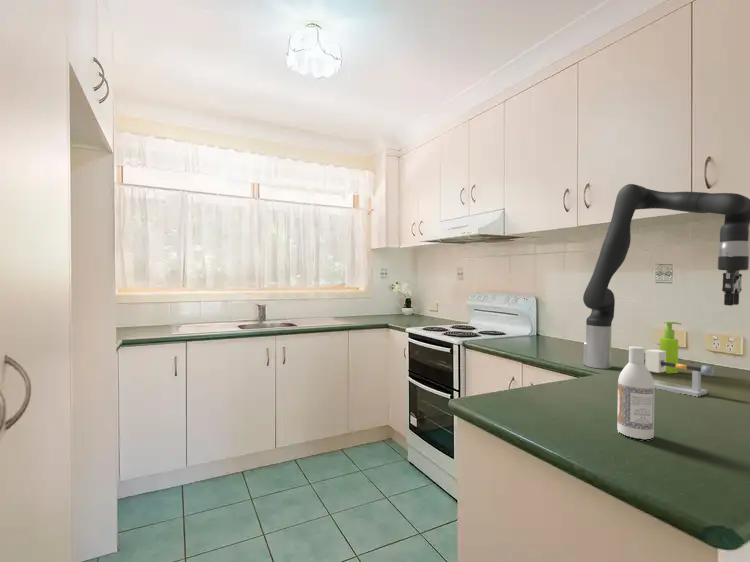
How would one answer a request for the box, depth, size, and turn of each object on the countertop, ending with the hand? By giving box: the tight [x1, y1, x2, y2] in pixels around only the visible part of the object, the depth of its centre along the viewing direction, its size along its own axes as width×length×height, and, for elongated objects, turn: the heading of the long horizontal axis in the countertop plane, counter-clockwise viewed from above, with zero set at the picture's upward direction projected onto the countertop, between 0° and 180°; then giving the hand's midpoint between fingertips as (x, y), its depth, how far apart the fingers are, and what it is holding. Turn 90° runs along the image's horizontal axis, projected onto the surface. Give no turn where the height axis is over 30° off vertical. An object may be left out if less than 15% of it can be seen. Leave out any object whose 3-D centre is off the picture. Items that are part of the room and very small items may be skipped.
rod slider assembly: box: [644, 358, 715, 398], centre depth 133 cm, size 22×8×10 cm, turn 33°
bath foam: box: [616, 345, 656, 440], centre depth 91 cm, size 7×7×20 cm
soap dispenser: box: [659, 321, 682, 374], centre depth 160 cm, size 6×7×20 cm
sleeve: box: [644, 349, 666, 374], centre depth 137 cm, size 4×6×7 cm
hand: (731, 305), depth 131 cm, fingers open, 8 cm apart
